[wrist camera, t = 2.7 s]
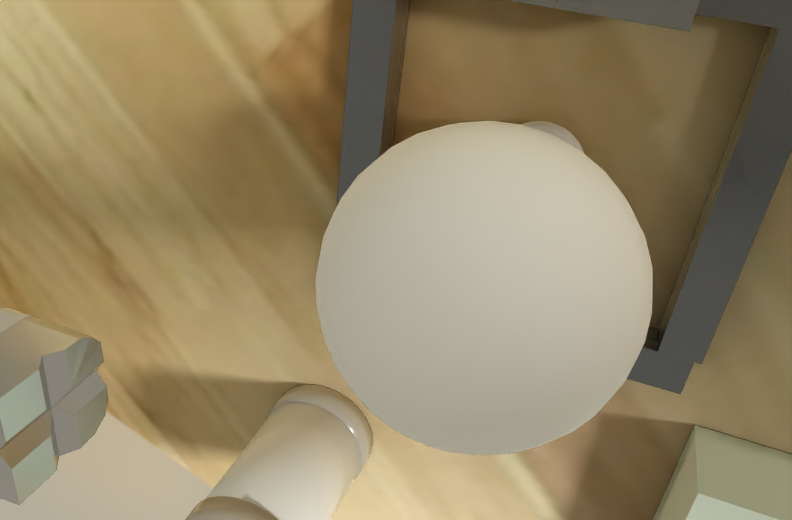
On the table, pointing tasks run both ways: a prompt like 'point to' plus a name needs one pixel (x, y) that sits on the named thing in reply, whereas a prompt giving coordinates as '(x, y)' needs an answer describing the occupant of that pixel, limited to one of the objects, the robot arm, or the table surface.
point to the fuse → (294, 461)
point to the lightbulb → (484, 287)
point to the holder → (729, 195)
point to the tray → (728, 481)
